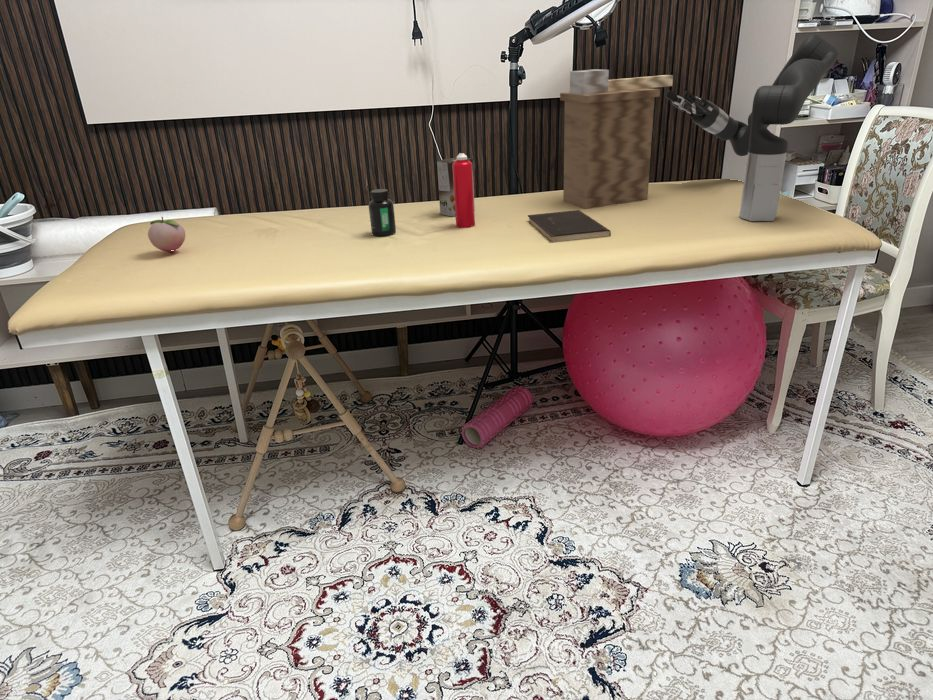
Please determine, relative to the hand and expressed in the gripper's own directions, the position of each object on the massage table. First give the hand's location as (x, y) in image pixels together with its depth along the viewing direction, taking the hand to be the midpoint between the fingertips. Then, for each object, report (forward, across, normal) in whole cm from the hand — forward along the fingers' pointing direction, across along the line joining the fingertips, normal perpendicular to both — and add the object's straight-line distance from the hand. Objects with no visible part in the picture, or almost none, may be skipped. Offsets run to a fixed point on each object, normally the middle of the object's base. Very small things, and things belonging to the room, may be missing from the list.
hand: (675, 93), depth 194 cm
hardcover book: (+28, +23, +51) cm, 63 cm away
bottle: (+48, +5, +62) cm, 79 cm away
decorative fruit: (+117, -11, +103) cm, 156 cm away
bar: (+17, 0, +7) cm, 19 cm away
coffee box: (+45, -10, +61) cm, 76 cm away
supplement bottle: (+68, +1, +74) cm, 100 cm away
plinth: (+6, 0, +38) cm, 38 cm away
